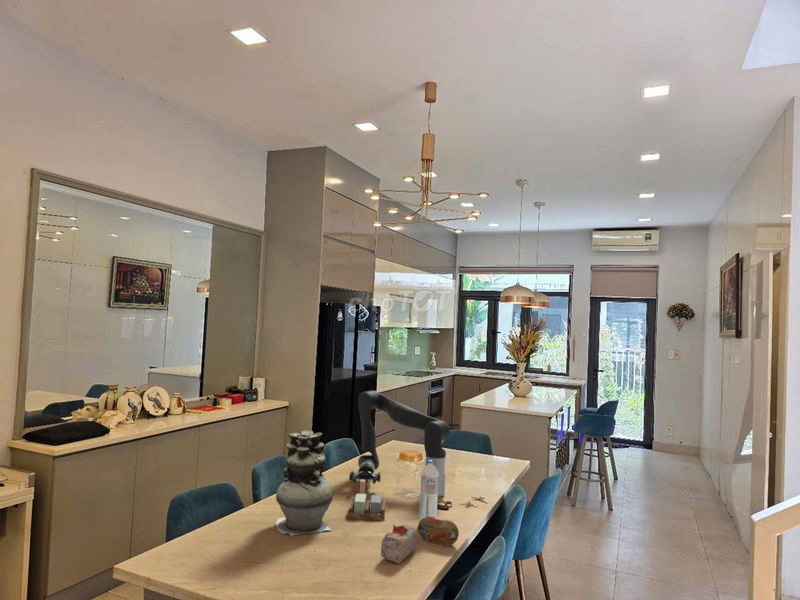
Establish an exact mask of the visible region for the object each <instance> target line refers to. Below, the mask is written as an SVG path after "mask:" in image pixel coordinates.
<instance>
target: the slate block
mask: <svg viewBox="0 0 800 600" xmlns="http://www.w3.org/2000/svg"><path fill="white" fill-rule="evenodd" d="M369 513H374V514H382V495H380V494H379V495H377V494H375V495H374V494H372V495H371V497H370V511H369Z"/></svg>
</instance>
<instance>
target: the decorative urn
mask: <svg viewBox="0 0 800 600" xmlns="http://www.w3.org/2000/svg"><path fill="white" fill-rule="evenodd" d="M322 436H323V433H322V432H316V433H314V431H313V430H312V429H311V430H310V429H308V430H307V429H306V430H302V431H301V432H300V433H297V432H289V433H288V437H289V438H290V439H291V440H290V442H288V443H287V444H286V446H285V447H286V448H287V449H288V452H287V457H286V460H285V461H286V462H285V463H286V467H285V468H284V469H283V477H284V479H283V482H282V483H281V484H280V485H279V487H278V489H277V490H276V495H275V499H276V502H277V504H278V505H279V506H280V509H281V510H280V511H282V513H283V515H284V517H280V518H277V519H276V520H275V522H274V523H275V526H276V529H277V531H278V532H280V533H281V534H289V535H290V536H299V535H300V536H301V535H307V534H313V533H320V532H323V531H331V528H330V527H329V526H328V524H327V523H326V522H325V521H324V520H323V517H324V516H325V514H326V513H327V511H328V509H329V508H330V505H331V503H332V502H333V496H334V491H333V487H332V484H331V483H330V481H329V480H328V479H327V478H326V477H325V474H324V473H323V470H322V467H324V465H325V463H326V460H327V458H326V456H325V454H324V452H323V448H324V447H325V443H323V442H321V441H320V439H321V437H322Z"/></svg>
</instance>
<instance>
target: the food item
mask: <svg viewBox="0 0 800 600" xmlns="http://www.w3.org/2000/svg"><path fill="white" fill-rule="evenodd" d="M380 544H381V546H380V555H381V558H383V559H385V560H387V562H388V561H389V562H392V563H394V564H397V565H400V564H401V563H403V561H404V560H406V559H407V557H408V556H410V555H411V554H412V553H413V552H414V551H416V549H417V530H416V529H415V527H412V526H411V525H408V524H401V525H398V526H397V525H394V524H393V526H392V532H387V533H386V534H385V535H384V537H383V538H382V541H381V543H380Z"/></svg>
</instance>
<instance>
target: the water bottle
mask: <svg viewBox="0 0 800 600" xmlns="http://www.w3.org/2000/svg"><path fill="white" fill-rule="evenodd" d="M432 463H433V461H432V460H428V464H427V465H426V466H425V465H424V467H423V468H421V471H420V491H419V509H418V510H419V511H418V512H419V513H418V523H419V522H420V521H421V520H422V519H423V518H426V517H435V518H438V517H437V515H438V499H439V497H438V476H439V472H438V470H437V468H436V467H435V466H434V465H433V464H432Z"/></svg>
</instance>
